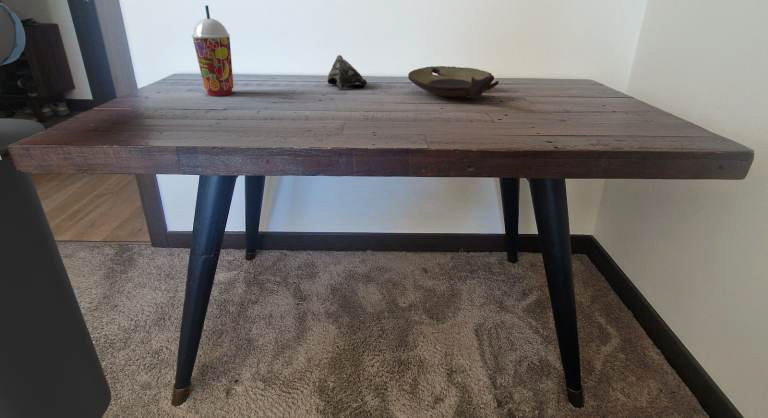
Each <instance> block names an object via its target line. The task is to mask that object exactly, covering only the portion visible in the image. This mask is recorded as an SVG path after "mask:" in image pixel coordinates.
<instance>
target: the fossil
mask: <svg viewBox="0 0 768 418" xmlns="http://www.w3.org/2000/svg"><path fill="white" fill-rule="evenodd" d="M326 82H327V84H328V85H336V86H337V88H338V90H342V89H344V88H346V87H348V86H354V85H356V84H359V85H361V86H362V87H365V86H366V85H367V84H368V81H367V79H365V78H363V76H362V74H360V73H359V71H358V70H357V69H356V68H354V67H353V65H352V64H351V63H349V62H348V61H347V60H346V59H344V57H343V56H342V55H341V54H338V55H337V56H336V57H335V61H334V63H333V64H332V66H331V69H330V71H329V73H328V75H327V81H326Z"/></svg>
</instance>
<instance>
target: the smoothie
mask: <svg viewBox="0 0 768 418" xmlns="http://www.w3.org/2000/svg"><path fill="white" fill-rule="evenodd" d="M204 7H205V14H206V18H204V19H201V20H200V21H198V22H197V23H196V25H195V27H194V29H193V33H192V34H191V37H192V41H193V46H194V49H195V54H196V58H197V63H198V67H199V71H200V75H201V80H202V84H203V88H204V90H205V91H206V93H207V95H209V96H211V97H225V96H229V95H231V94H232V93H233V89H234V76H233V75H234V74H233V64H232V63H233V62H232V48H231V34H229V32H228V30H227V28H226V27H225V26H224V25H223V24H222V23H221V22H220V21H218V20H217V19H214V18H211V15H210V9H209V5H205V6H204Z"/></svg>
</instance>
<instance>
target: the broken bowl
mask: <svg viewBox="0 0 768 418" xmlns="http://www.w3.org/2000/svg"><path fill="white" fill-rule="evenodd" d="M407 78H408V80H409V81H410V82H411V83H412V84H414V85H416V86H417V87H418V88H420V89H422V90H424V91H426V92H428V93H430V94H433V95H436V96H439V97H444V98H451V99H452V98H453V99H458V98H459V99H460V98H468V97H469V98H471V99H477V98H479V97H481V95H483V94H484V93H485V92H488V91H489V90H492V89H493V88H496V87H497V86H498V85H499V84H500V82H499V81H500V80H496V81H494V80H495V76H494V75H493V74H492V73H491V72H488V71H485V70H482V69H478V68H474V67H461V66H460V67H459V66H457V67H456V66H447V65H446V66H445V65H437V66H436V65H435V66H425V67H419V68H417V69H413V70H411V71H410V72H409V73H407ZM493 81H494V82H493Z"/></svg>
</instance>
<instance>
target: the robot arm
mask: <svg viewBox="0 0 768 418" xmlns="http://www.w3.org/2000/svg"><path fill="white" fill-rule="evenodd" d="M25 47H26V32H25V29H24V26H23V24H22V22H21V20H20V18H19V17H18V15H17V14H16V13H15V12H14V11H12V10H11V8H10V7H9V6H7V5H5V4H3V3H1V2H0V67H1V66H3V65H7V64H11V63H13V62H15V61H17V60H18V59H19V58H20V57H21V54H22V53H23V52H24V50H25Z"/></svg>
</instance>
